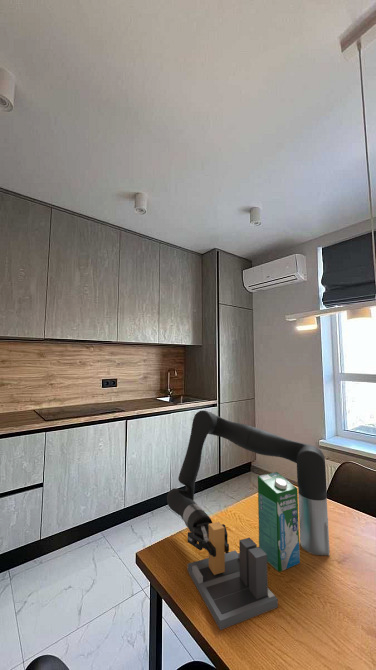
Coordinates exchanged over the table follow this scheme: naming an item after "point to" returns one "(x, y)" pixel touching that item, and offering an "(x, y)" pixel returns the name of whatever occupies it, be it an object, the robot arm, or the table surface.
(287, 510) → the milk carton
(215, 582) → the grey slotted tray
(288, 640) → the table surface
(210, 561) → the tall tan rectangular block
